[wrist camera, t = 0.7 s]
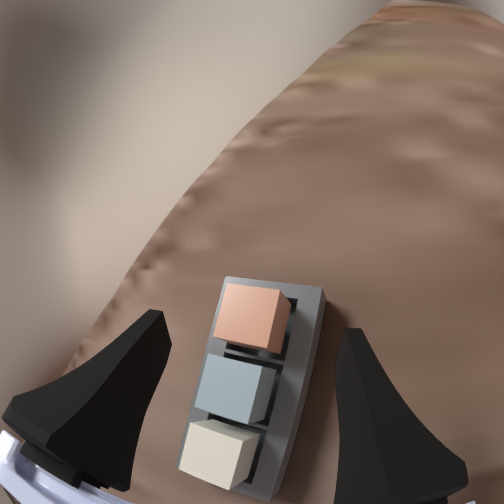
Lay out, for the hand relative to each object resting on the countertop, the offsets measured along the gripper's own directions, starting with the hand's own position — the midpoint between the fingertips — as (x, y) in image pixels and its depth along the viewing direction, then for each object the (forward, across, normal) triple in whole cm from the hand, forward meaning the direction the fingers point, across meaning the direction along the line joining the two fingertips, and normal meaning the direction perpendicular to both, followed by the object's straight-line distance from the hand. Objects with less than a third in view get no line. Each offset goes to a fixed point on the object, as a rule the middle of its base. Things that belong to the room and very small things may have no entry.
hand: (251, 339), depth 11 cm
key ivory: (+1, +2, +15) cm, 15 cm away
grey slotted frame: (+7, 0, +15) cm, 16 cm away
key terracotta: (+9, +1, +9) cm, 13 cm away
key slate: (+5, +1, +12) cm, 13 cm away
